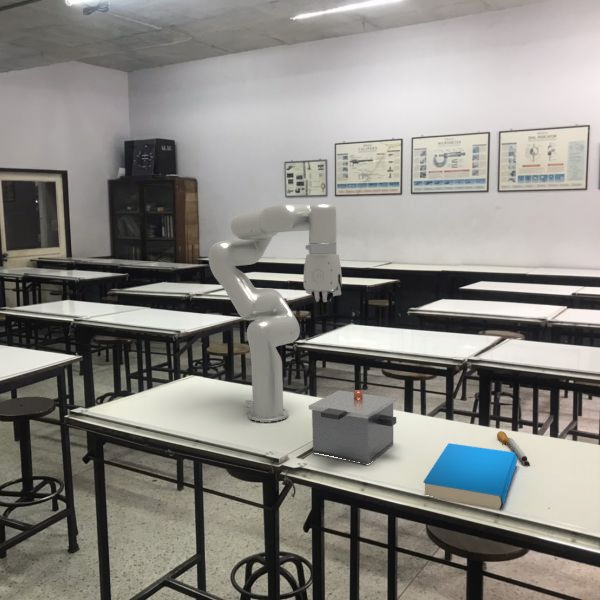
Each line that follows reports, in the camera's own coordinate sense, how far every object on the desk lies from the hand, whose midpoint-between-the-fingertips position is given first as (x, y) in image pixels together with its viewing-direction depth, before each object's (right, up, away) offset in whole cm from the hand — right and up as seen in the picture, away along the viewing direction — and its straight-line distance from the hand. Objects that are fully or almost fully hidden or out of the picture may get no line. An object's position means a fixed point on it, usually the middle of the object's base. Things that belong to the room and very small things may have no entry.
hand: (323, 315), depth 170 cm
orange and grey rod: (+49, -36, -10) cm, 62 cm away
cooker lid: (+6, -24, -10) cm, 27 cm away
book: (+34, -39, -27) cm, 58 cm away
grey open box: (+9, -36, -7) cm, 38 cm away
